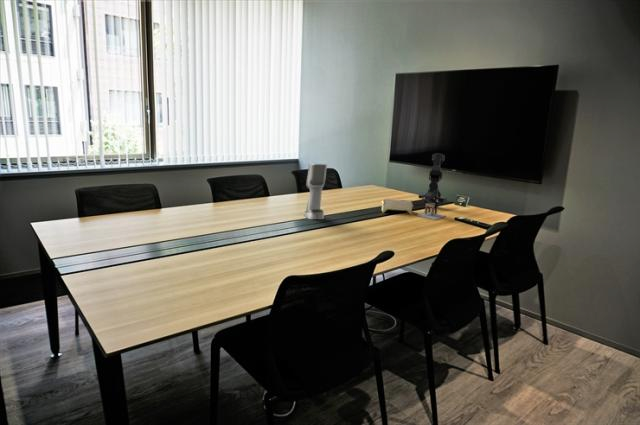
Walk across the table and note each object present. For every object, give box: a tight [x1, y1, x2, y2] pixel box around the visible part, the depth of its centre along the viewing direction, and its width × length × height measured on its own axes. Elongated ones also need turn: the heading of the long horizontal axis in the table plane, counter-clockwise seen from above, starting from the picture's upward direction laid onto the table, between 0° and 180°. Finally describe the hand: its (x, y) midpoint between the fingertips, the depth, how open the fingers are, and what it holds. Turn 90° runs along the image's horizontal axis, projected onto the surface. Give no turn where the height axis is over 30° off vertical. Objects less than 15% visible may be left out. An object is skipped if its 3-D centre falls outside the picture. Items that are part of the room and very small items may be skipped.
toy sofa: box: [381, 197, 414, 215], centre depth 292 cm, size 21×9×10 cm, turn 89°
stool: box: [424, 203, 438, 215], centre depth 288 cm, size 6×6×7 cm
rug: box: [415, 211, 446, 221], centre depth 288 cm, size 16×14×1 cm
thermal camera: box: [303, 163, 328, 221], centre depth 265 cm, size 12×13×35 cm
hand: (431, 210), depth 288 cm, fingers closed on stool, 6 cm apart
